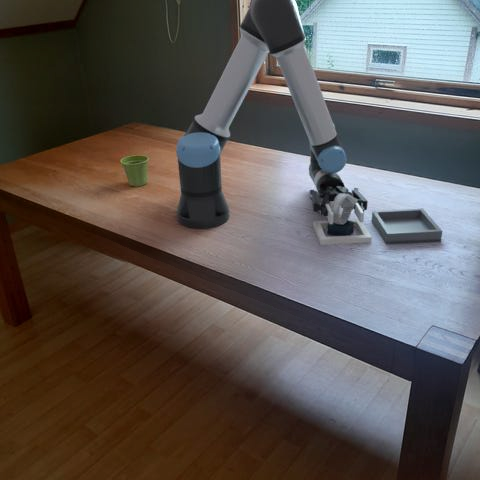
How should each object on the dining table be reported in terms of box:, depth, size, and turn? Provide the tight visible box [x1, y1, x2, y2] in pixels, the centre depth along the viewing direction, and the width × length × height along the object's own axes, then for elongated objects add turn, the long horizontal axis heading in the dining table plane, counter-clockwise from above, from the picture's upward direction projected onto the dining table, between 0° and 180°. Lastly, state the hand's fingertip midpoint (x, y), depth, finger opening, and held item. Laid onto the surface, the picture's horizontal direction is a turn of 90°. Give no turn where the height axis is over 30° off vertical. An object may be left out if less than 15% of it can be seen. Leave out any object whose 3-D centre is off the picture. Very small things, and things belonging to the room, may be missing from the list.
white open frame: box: [313, 218, 372, 246], centre depth 137 cm, size 13×11×2 cm
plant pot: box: [120, 154, 150, 188], centre depth 174 cm, size 9×9×9 cm
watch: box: [326, 193, 356, 237], centre depth 134 cm, size 6×8×11 cm
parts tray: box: [371, 208, 443, 245], centre depth 137 cm, size 14×14×3 cm
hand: (347, 218), depth 130 cm, fingers closed on watch, 7 cm apart
